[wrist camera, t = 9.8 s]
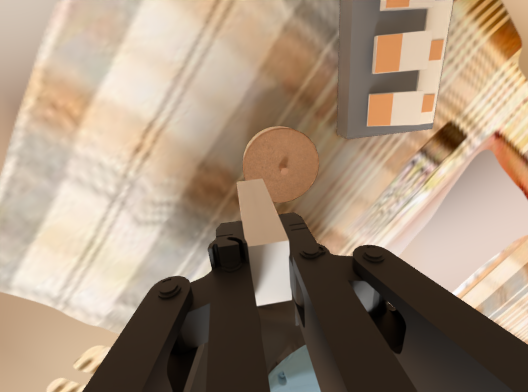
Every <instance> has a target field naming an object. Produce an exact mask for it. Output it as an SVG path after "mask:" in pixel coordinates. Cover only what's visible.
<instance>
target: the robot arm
mask: <svg viewBox="0 0 528 392" xmlns="http://www.w3.org/2000/svg"><path fill="white" fill-rule="evenodd" d="M237 190H238V197H239V205H240V213H241V220H242V221H236V222H229V223H222V224H220V226H219V227H218V228H217V230H216V240H214V241H213V242H212V243H211V244H210V245H209V247H208V252H209V257H210V262H211V267H212V271H211V272H210V273H209V274H207V275H206V276H204V277H202V278H200V279H198V280H196V281H193V282H191V283H190V282H189V280H188V279H186V278H185V277H181V276H173V277H168V278H166V279H163V280H161V281H159V282H158V283H156V284H155V285H154V286H153V287H152V288H151V289H150V290H149V292H148V293H147V295H146V296H145V298H144V299H143V301H142V302H141V304H140V305H139V307H138V308H137V310H136V311H135V313H134V314H133V316H132V317H131V319H130V320H129V322H128V323H127V325H126V326H125V328H124V329H123V331H122V333H121V334H120V336H119V337H118V339H117V340H116V342H115V343H114V345H113V346H112V348H111V349H110V351H109V352H108V354H107V355H106V357H105V358H104V360H103V361H102V363H101V364H100V366H99V367H98V369H97V370H96V372H95V373H94V375H93V376H92V378H91V379H90V381H89V383H88V384H87V385H86V387H85V388H84V390H83V391H82V392H528V345H527V344H526V343H525V342H523V341H522V340H520V339H519V338H517V337H516V336H514V335H513V334H511V333H510V332H508V331H507V330H505V329H504V328H502V327H501V326H499V325H498V324H496V323H495V322H493V321H492V320H490V319H489V318H488V317H486V316H485V315H483V314H482V313H480V312H479V311H477V310H476V309H474V308H473V307H471V306H470V305H468V304H467V303H465V302H464V301H462V300H461V299H459V298H458V297H456V296H455V295H453V294H452V293H450V292H449V291H448V290H446V289H444V288H443V287H441V286H440V285H439V284H437V283H435V282H434V281H433V280H431V279H430V278H428V277H427V276H425V275H424V274H422V273H420V272H419V271H418V270H416V269H415V268H413V267H412V266H410V265H409V264H408V263H406V262H405V261H403V260H402V259H400V258H399V257H397V256H396V255H394V254H393V253H391V252H390V251H388V250H386V249H384V248H382V247H379V246H375V245H363V246H359V247H358V248H356V249H355V250H354V252H353V256H338V255H333V254H331V253H330V252H329V250H328V249H327V248H326V247H325V246H323V245H320V244H317V242H316V241H315V239H314V237H313V236H312V234H311V232H310V231H309V229H308V227H307V226H306V224H305V222H304V220H303V219H302V217H301V216H299V215H297V214H296V213H288V214H280V215H278V213H277V211H276V209H275V206H274V204H273V202H272V199H271V197H270V195H269V192H268V190H267V188H266V185H265V183H264V181H263V179H255V180H247V181H239V182H237ZM388 302H389V303H390V304H391V305H392V306H391V305H390V304H389V303H388ZM394 307H395V308H394Z"/></svg>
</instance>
